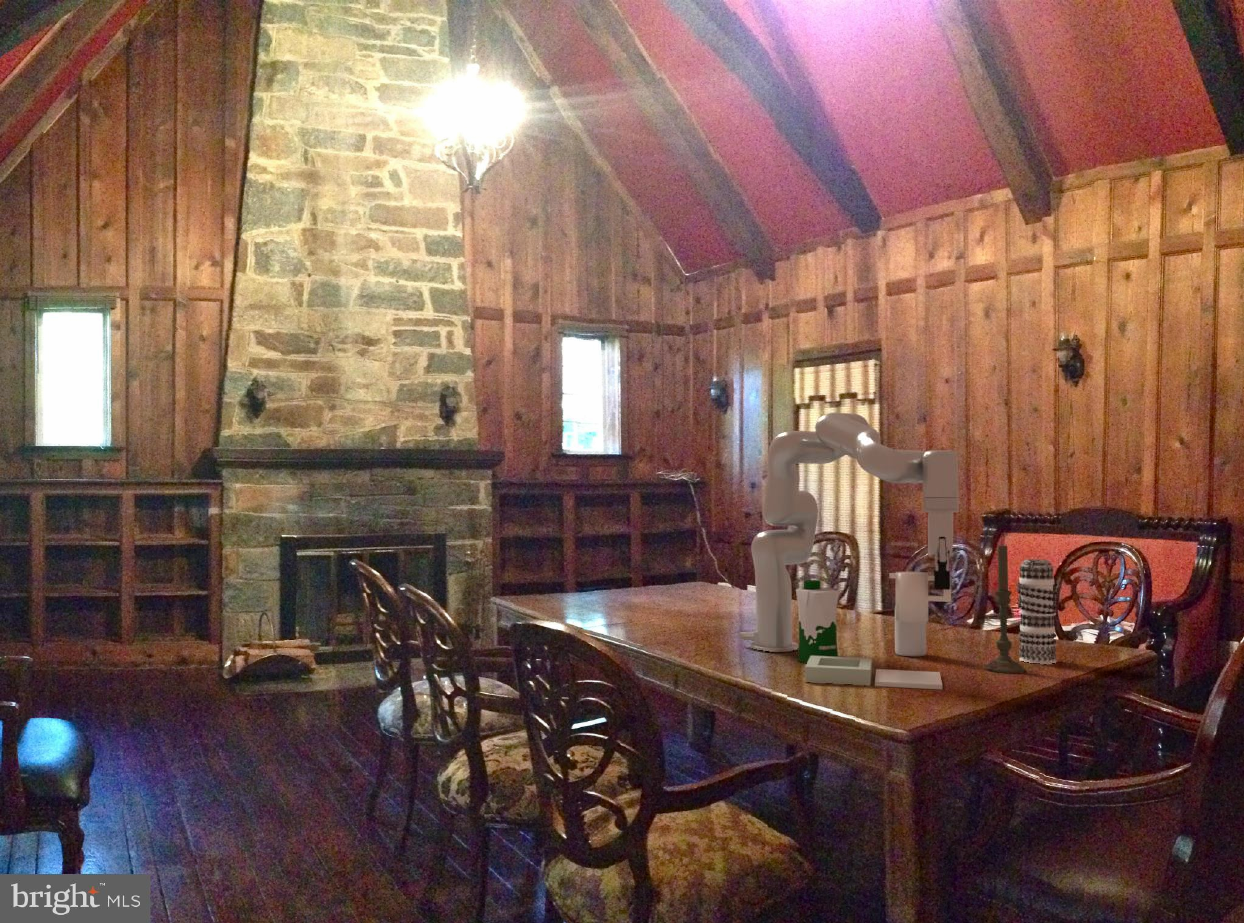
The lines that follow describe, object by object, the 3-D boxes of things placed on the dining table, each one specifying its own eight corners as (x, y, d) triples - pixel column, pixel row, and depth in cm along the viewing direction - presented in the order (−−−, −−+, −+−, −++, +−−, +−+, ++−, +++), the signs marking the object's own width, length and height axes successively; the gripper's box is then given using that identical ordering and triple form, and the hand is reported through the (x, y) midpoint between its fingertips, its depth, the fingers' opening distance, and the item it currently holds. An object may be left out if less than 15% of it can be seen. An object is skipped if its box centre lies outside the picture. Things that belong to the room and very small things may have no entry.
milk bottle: (928, 657, 241) (926, 578, 242) (896, 656, 243) (895, 577, 243) (924, 652, 249) (923, 575, 249) (894, 651, 250) (893, 574, 251)
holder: (805, 682, 213) (805, 666, 213) (810, 670, 226) (810, 655, 226) (870, 685, 209) (870, 669, 209) (871, 673, 222) (871, 658, 222)
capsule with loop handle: (889, 621, 211) (889, 573, 212) (889, 616, 218) (889, 570, 218) (951, 623, 208) (951, 575, 208) (949, 619, 214) (949, 572, 215)
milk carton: (820, 658, 242) (819, 578, 242) (844, 664, 234) (843, 582, 234) (792, 661, 238) (792, 580, 238) (816, 667, 230) (815, 584, 230)
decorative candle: (1026, 656, 242) (1025, 557, 243) (1064, 661, 235) (1062, 559, 236) (1011, 661, 236) (1009, 559, 236) (1049, 666, 229) (1047, 561, 230)
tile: (874, 685, 209) (874, 681, 209) (876, 673, 222) (876, 669, 222) (942, 689, 205) (942, 684, 205) (939, 676, 218) (939, 672, 218)
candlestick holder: (976, 666, 230) (975, 541, 230) (1013, 665, 231) (1011, 541, 231) (994, 673, 221) (992, 544, 221) (1032, 672, 221) (1030, 543, 222)
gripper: (922, 504, 221) (923, 584, 220) (924, 506, 206) (925, 592, 205) (956, 504, 219) (957, 585, 218) (960, 506, 203) (962, 593, 203)
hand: (942, 587), depth 212 cm, fingers closed on capsule with loop handle
